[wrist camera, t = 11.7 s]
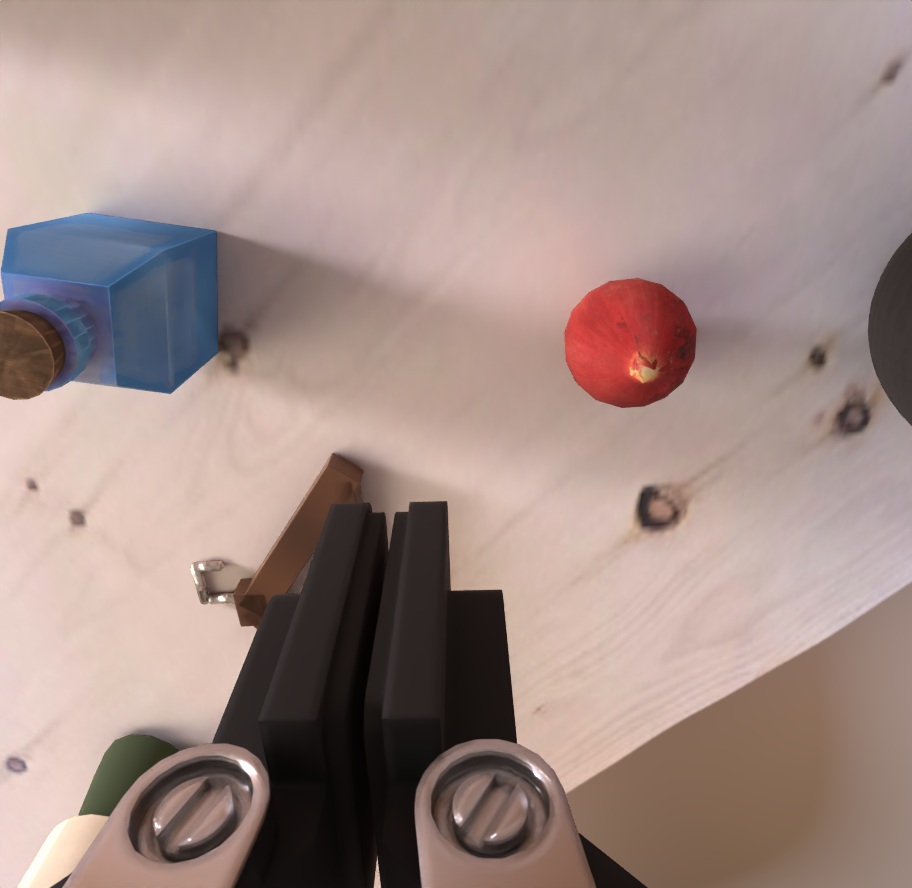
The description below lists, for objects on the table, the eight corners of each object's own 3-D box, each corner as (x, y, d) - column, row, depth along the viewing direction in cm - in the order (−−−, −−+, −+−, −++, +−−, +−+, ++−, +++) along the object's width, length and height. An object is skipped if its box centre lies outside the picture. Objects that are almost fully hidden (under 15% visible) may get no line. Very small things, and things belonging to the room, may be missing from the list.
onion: (673, 259, 33) (730, 295, 26) (669, 371, 35) (721, 432, 28) (553, 271, 33) (577, 309, 26) (558, 382, 36) (580, 444, 28)
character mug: (122, 811, 50) (15, 1019, 39) (61, 748, 48) (-74, 949, 36) (246, 769, 48) (173, 975, 36) (189, 701, 46) (90, 898, 34)
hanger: (233, 708, 46) (225, 727, 44) (164, 462, 38) (152, 475, 37) (397, 701, 45) (395, 720, 44) (361, 450, 38) (356, 463, 36)
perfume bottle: (216, 230, 33) (90, 278, 22) (218, 352, 35) (106, 449, 25) (87, 212, 33) (-105, 251, 22) (98, 336, 35) (-69, 427, 24)
